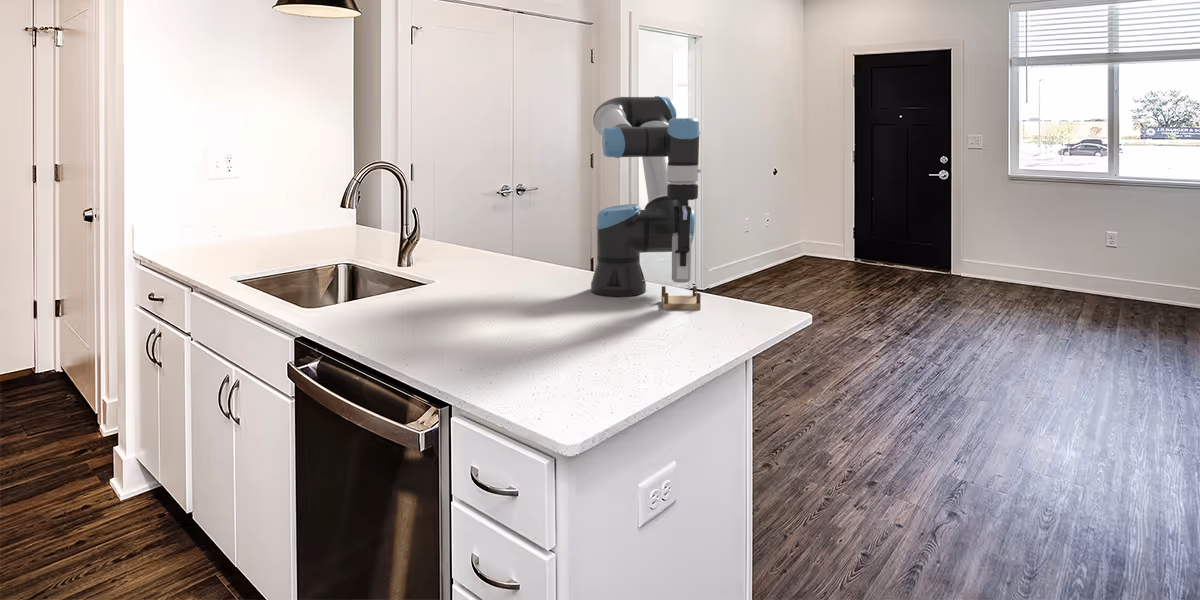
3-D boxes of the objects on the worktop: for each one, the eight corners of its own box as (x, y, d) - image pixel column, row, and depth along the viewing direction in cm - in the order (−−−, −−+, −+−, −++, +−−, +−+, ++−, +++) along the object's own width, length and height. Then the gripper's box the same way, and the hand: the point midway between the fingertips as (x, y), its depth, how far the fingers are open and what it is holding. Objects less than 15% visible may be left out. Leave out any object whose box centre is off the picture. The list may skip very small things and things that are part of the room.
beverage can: (675, 283, 189) (676, 235, 186) (668, 279, 194) (669, 232, 191) (693, 282, 190) (694, 234, 188) (686, 278, 195) (687, 232, 192)
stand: (664, 309, 189) (664, 293, 188) (661, 301, 198) (661, 286, 197) (700, 309, 189) (700, 293, 188) (696, 301, 198) (696, 286, 197)
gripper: (702, 185, 178) (700, 283, 183) (693, 180, 195) (691, 269, 200) (670, 185, 178) (669, 283, 183) (664, 180, 195) (663, 269, 200)
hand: (681, 276), depth 192 cm, fingers closed on beverage can, 5 cm apart
